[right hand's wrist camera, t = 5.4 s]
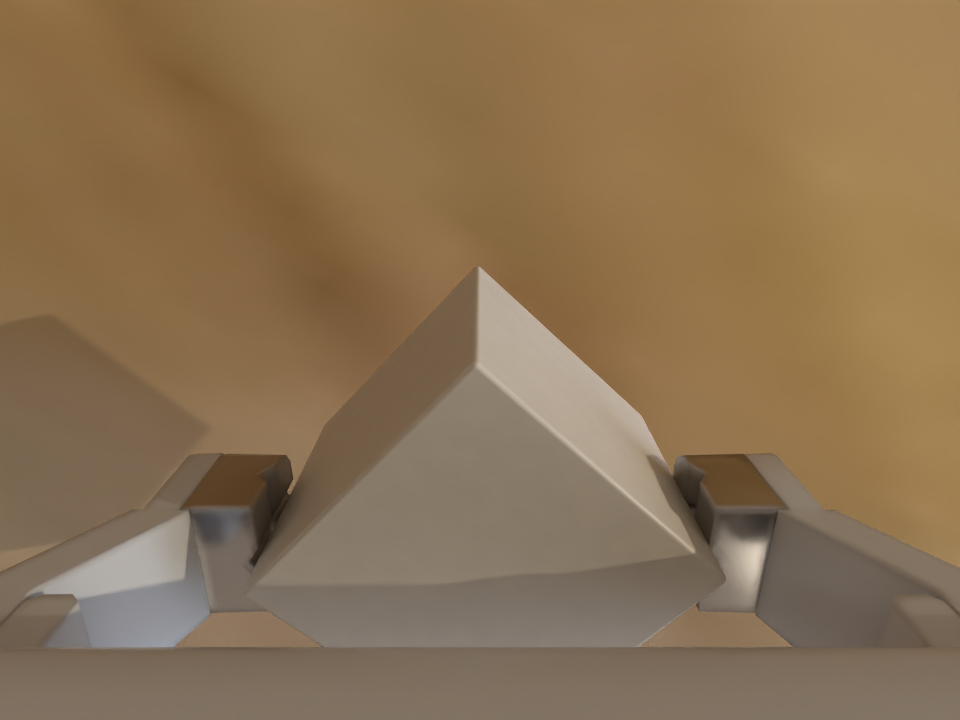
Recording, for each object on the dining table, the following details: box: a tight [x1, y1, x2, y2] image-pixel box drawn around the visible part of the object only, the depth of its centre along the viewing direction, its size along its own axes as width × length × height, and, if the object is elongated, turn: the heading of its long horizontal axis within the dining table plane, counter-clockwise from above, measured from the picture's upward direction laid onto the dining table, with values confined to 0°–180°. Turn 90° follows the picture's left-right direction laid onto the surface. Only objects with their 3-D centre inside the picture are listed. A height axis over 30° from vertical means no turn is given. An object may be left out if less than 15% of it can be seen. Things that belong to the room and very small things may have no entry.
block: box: [243, 266, 726, 647], centre depth 10 cm, size 4×4×5 cm
